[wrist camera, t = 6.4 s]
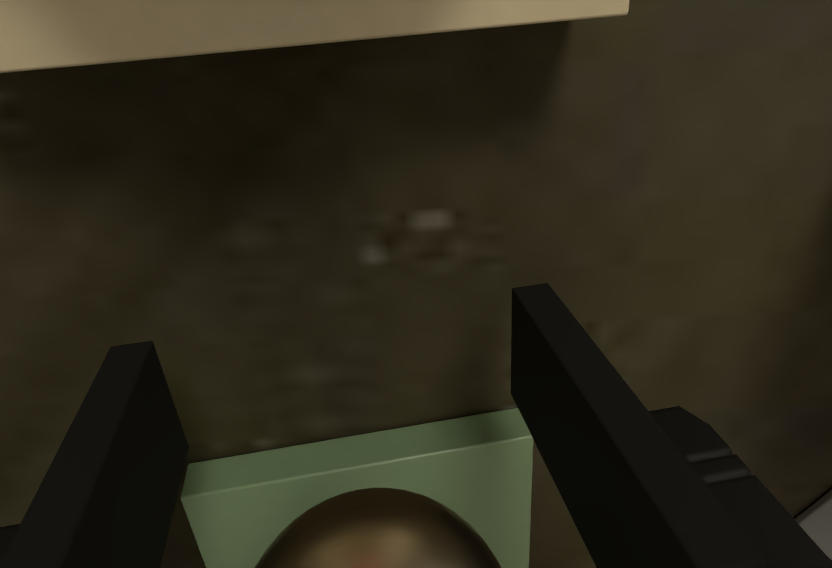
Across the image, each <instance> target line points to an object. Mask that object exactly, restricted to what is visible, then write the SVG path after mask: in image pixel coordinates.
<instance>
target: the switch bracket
mask: <svg viewBox="0 0 832 568" xmlns="http://www.w3.org/2000/svg"><path fill="white" fill-rule="evenodd" d="M532 464H533V437H532V435H531V433H530V431H529V429H528V427H527V425H526V423H525V421H524V419H523V417H522V415H521V413H520V411H519V409H518V408H513V409H508V410H502V411H496V412H490V413H484V414H478V415H472V416H466V417H461V418H455V419H449V420H443V421H437V422H431V423H425V424H419V425H414V426H408V427H402V428H396V429H390V430H384V431H378V432H372V433H367V434H361V435H355V436H349V437H343V438H337V439H331V440H325V441H319V442H314V443H308V444H302V445H296V446H290V447H284V448H278V449H272V450H267V451H261V452H255V453H249V454H243V455H237V456H231V457H225V458H220V459H214V460H208V461H202V462H196V463H190V464H189V465H188V467H187V472H186V476H185V480H184V485H183V489H182V493H181V498H180V499H181V502H182V504H183V507H184V510H185V512H186V515H187V518H188V521H189V523H190V526H191V529H192V531H193V534H194V537H195V539H196V542H197V545H198V548H199V550H200V553H201V556H202V558H203V561H204V564H205V567H206V568H255V566H256V565H257V563H258V561H259V560H260V558H261V557H262V555H263V554H264V552H265V551H266V550H267V548H268V547H269V546H270V544H271V543H272V542H273V541H274V540H275V539H276V537H277V536H278V535H279V534H280V533H281V531H282V530H284V529H285V528H286V527H287V526H288V525H289V524H290V523H291V522H292V521H293V520H294V519H296V518H297V517H299V516H300V515H301V514H303V513H304V512H306V511H307V510H308V509H310V508H312V507H313V506H315V505H317V504H319V503H321V502H323V501H325V500H327V499H329V498H331V497H334V496H337V495H339V494H342V493H345V492H349V491H353V490H357V489H365V488H374V487H376V488H395V489H402V490H407V491H411V492H414V493H418V494H421V495H424V496H427V497H429V498H431V499H434V500H436V501H438V502H440V503H442V504H443V505H445V506H447V507H448V508H450V509H451V510H453V511H454V512H455V513H457V514H458V515H459V516H460V517H462V518H463V519H464V520H465V521H466V522H468V523H469V524H470V525H471V526H472V527H473V528H474V529H475V530H476V531H477V532H478V534H479V535H480V536H481V537H482V538H483V539H484V541H485V542H486V544H487V545H488V547H489V548H490V550H491V551H492V552H493V554H494V555H495V557H496V558H497V560H498V562H499V564H500V566H501V568H529V549H530V521H531V492H532Z"/></svg>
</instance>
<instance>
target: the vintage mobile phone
mask: <svg viewBox="0 0 832 568" xmlns="http://www.w3.org/2000/svg"><path fill="white" fill-rule="evenodd" d="M794 520H795V521H796V522H797V523H798V524H799V525H800V526H801V527H802V529H803V530H804V531H805V532H806V533H807V534H808V535H809V536H810V538H811V539H812V540H813V541H814V542H815V543H816V544H817V545H818V546H819V548H820V549H821V550H822V551H823V552H824V553H825V554H826V555H827V556H828V557H829V558H830V559H831V560H832V490H830V491H829V492H828V493H827V494H825V495H824V496H823V497H822V498H820V499H819V500H818V501H817V502H815V503H814V504H813V505H812V506H810V507H809V508H808V509H807V510H805V511H804V512H803V513H802V514H800V515H799V516H798V517H797V518H795V519H794Z"/></svg>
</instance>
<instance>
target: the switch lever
mask: <svg viewBox="0 0 832 568" xmlns="http://www.w3.org/2000/svg"><path fill="white" fill-rule="evenodd" d="M255 568H501V566H500V564H499V562H498V560H497V558H496V557H495V555H494V554H493V552H492V551H491V550H490V548H489V547H488V545H487V544H486V542H485V541H484V539H483V538H482V537H481V536H480V535H479V534H478V532H477V531H476V530H475V529H474V528H473V527H472V526H471V525H470V524H469V523H468V522H466V521H465V520H464V519H463V518H462V517H460V516H459V515H458V514H457V513H455V512H454V511H453V510H451V509H450V508H448V507H447V506H445V505H443V504H442V503H440V502H438V501H436V500H434V499H431V498H429V497H427V496H424V495H421V494H418V493H414V492H411V491H407V490H402V489H395V488H376V487H374V488H365V489H357V490H353V491H349V492H345V493H342V494H339V495H337V496H334V497H331V498H329V499H327V500H325V501H323V502H321V503H319V504H317V505H315V506H313V507H312V508H310V509H308V510H307V511H306V512H304V513H303V514H301V515H300V516H299V517H297V518H296V519H294V520H293V521H292V522H291V523H290V524H289V525H288V526H287V527H286V528H285V529H284V530H282V531H281V533H280V534H279V535H278V536H277V537H276V539H275V540H274V541H273V542H272V543H271V544H270V546H269V547H268V548H267V550H266V551H265V552H264V554H263V555H262V557H261V558H260V560H259V561H258V563H257V565H256V566H255Z"/></svg>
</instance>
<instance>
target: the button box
mask: <svg viewBox="0 0 832 568" xmlns="http://www.w3.org/2000/svg"><path fill="white" fill-rule="evenodd" d="M628 10H629V0H0V73H8V72H19V71H30V70H40V69H51V68H62V67H73V66H84V65H94V64H105V63H116V62H127V61H138V60H149V59H159V58H170V57H181V56H192V55H203V54H213V53H224V52H235V51H246V50H257V49H268V48H278V47H289V46H300V45H311V44H322V43H332V42H343V41H354V40H365V39H376V38H387V37H397V36H408V35H419V34H430V33H441V32H451V31H462V30H473V29H484V28H495V27H506V26H516V25H527V24H538V23H549V22H560V21H570V20H581V19H592V18H603V17H614V16H625V15H627V14H628Z"/></svg>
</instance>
